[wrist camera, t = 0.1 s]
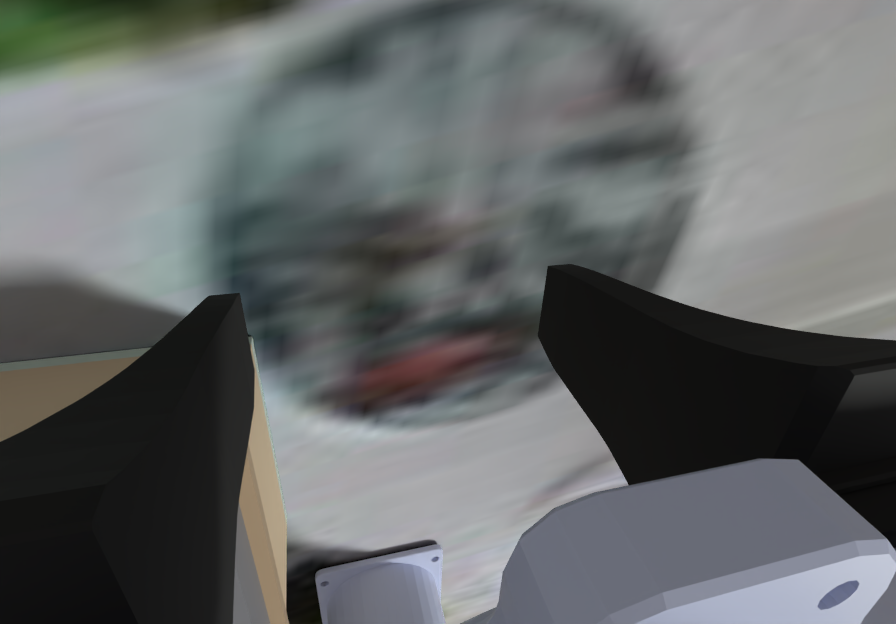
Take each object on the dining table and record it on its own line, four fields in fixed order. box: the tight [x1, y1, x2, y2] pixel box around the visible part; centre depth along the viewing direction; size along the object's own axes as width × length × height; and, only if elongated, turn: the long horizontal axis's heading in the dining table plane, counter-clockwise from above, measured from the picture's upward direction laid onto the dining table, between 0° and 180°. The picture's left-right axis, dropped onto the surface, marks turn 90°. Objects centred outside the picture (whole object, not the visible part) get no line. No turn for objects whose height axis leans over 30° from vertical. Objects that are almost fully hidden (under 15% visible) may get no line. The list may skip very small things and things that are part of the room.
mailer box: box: [0, 336, 287, 607], centre depth 21 cm, size 12×14×6 cm
